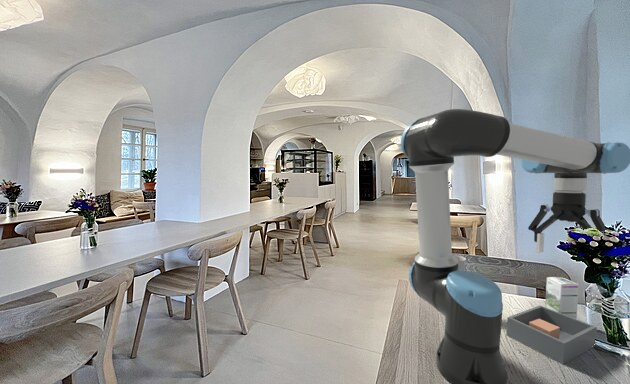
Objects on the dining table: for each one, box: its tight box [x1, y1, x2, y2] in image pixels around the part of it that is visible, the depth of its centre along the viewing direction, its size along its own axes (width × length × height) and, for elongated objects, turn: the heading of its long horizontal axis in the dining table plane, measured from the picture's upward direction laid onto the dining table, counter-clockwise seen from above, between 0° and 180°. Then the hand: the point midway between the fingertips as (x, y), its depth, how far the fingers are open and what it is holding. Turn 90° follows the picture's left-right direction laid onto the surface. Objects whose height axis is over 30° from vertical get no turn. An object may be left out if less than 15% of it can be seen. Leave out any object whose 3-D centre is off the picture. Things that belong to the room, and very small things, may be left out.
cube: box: [529, 319, 560, 339], centre depth 77 cm, size 5×5×5 cm
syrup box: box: [544, 276, 580, 320], centre depth 87 cm, size 6×6×14 cm
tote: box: [506, 305, 598, 365], centre depth 78 cm, size 18×14×6 cm
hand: (564, 257), depth 86 cm, fingers open, 13 cm apart
